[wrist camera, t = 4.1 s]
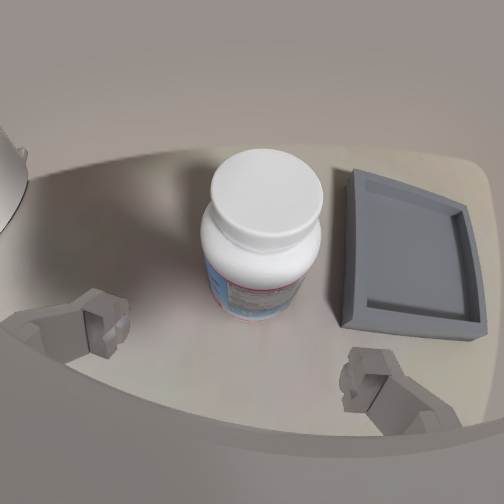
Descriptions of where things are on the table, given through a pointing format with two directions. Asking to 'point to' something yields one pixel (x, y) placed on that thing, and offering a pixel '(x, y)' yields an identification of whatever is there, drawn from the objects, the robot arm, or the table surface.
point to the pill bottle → (260, 232)
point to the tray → (410, 263)
